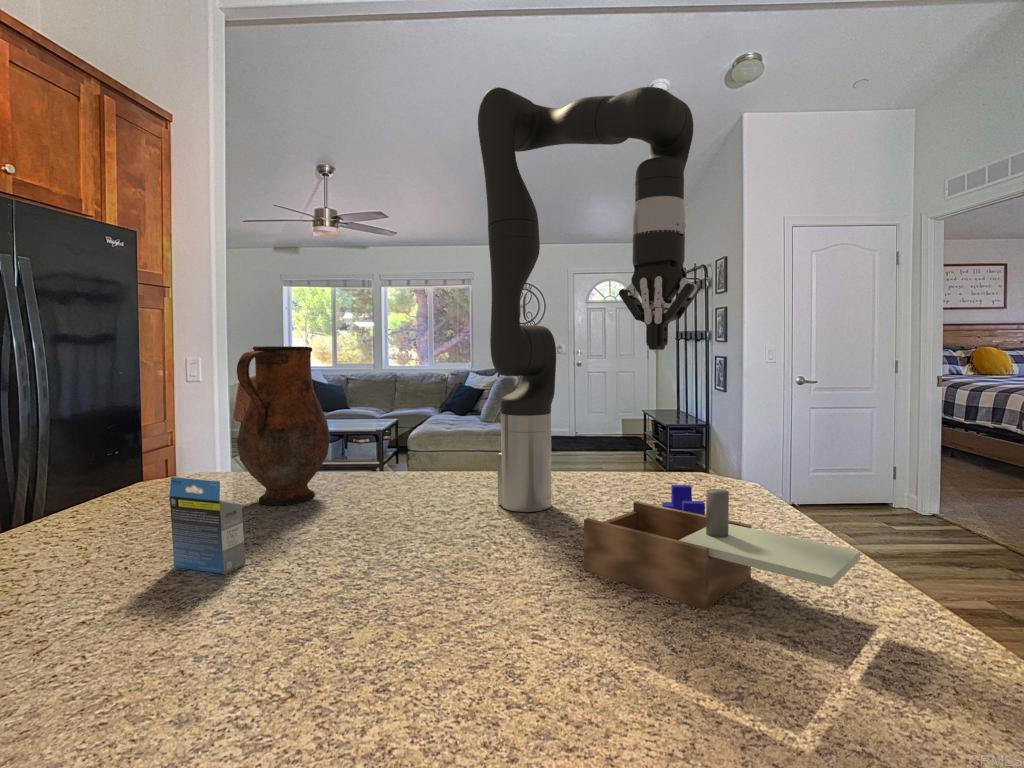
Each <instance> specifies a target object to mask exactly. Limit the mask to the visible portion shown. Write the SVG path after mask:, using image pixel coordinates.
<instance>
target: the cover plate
mask: <svg viewBox="0 0 1024 768" xmlns="http://www.w3.org/2000/svg"><path fill="white" fill-rule="evenodd" d="M729 499H730V491H729V490H727V489H726V490H725V489H722V488H707V489H706V502H705V515H706V527H705V528H703V529H701V530H699V531H697V532H695V533H692V534H690V535H688V536H686V537H684V538H682V539H680V540H679V541H683V542H687V543H691V544H695V545H699V546H704V547H708V548H709V556H711V557H715V558H718V559H722V560H726V561H730V562H734V563H738V564H742V565H746V566H750V567H751V568H754V569H758V570H762V571H764V572H770V573H773V574H778V575H781V576H785V577H789V578H792V579H793V578H794V579H797V580H801V581H805V582H808V583H813V584H815V585H816V584H817V585H820V586H823V587H824V586H825V587H828V588H833V587H834V586H835V585H836V584H837V583H838V582H839V581H840V580H841V579H842V577H844V576H845V575H846V574H847V573H848V572H850V570H851V569H852V568H854V566H856V565H857V563H859V562H860V560H861V550H855V549H851V548H846V547H842V546H838V545H837V546H836V545H833V544H828V543H825V542H824V543H823V542H819V541H812V540H809V539H804V538H799V537H794V536H789V535H784V534H779V533H775V532H771V531H766V530H760V529H757V528H752V527H751V528H747V527H742V526H737V525H733V524H729V520H730V519H729V518H730V516H729V515H730V513H729V512H730V511H729V510H730V509H729V508H730V503H729V502H730V500H729Z"/></svg>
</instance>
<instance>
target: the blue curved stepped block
mask: <svg viewBox="0 0 1024 768" xmlns="http://www.w3.org/2000/svg"><path fill="white" fill-rule="evenodd" d="M692 488H693V487H692V486H691V485H688V484H671V491H670V492H671V498H670V499H671V501H670V502H669V501H662V502H661V506H662V507H667V508H672V509H676V510H681V511H686V512H691V513H696V514H701V515H706V502H704V501H703V500H693V496H692V495H693V493H692Z"/></svg>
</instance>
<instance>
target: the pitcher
mask: <svg viewBox="0 0 1024 768" xmlns="http://www.w3.org/2000/svg"><path fill="white" fill-rule="evenodd" d="M312 352H313V348H312V347H311V346H287V345H286V346H283V345H282V346H281V345H280V346H273V345H271V346H270V345H269V346H263V345H262V346H258V345H257V346H255V345H254V346H252V351H246V352H244V353H243V354H242V355H241V356H240V358H239V359H238V362H237V364H236V375H237V380H238V382H239V385H240V386H241V387H242V389H243V390H244V391H245V393H246V394H247V395H248V396H249V398H250V401H249V404H248V407H247V409H246V412H245V414H244V415H243V418H242V421H241V424H240V425H239V426H240V427H239V431H238V436H237V440H236V444H237V451H238V457H239V460H240V462H241V464H242V465H243V466H244V468H245V469H246V471H247V472H248V473H249V474H250V476H251V477H253V478H254V479H255V481H257V482H258V483H259V484H260V485H262V487H264V488H265V492H264V494H262V495H261V496H260V497H259V498H258V503H260V504H261V505H263V504H265V505H264V506H268V505H280V506H288V505H287V504H290V505H294V504H293V503H296V504H299V502H300V503H303V501H304V502H306V500H307V501H309V500H311V499H313V498H314V497H315V496H316V493H315V491H314V490H313V489H310V488H309V487H308V484H309V482H310V481H311V480H312V479H313V478H314V476H315V475H316V474H317V473H318V471H319V470H320V469H321V467H322V465H323V464H324V462H325V460H326V458H327V457H328V453H329V448H330V441H331V434H330V428H329V424H328V420H327V418H326V416H325V413H324V411H323V408H322V406H321V404H320V403H321V402H320V401H319V399H318V396H317V394H316V392H315V389H314V384H313V376H312V363H311V358H312V357H311V356H312ZM253 359H254V361H255V362H254V363H255V364H254V365H255V377H254V384H253V383H252V380H251V377H250V366H251V362H252V361H253Z"/></svg>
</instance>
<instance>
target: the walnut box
mask: <svg viewBox="0 0 1024 768" xmlns="http://www.w3.org/2000/svg"><path fill="white" fill-rule="evenodd" d="M632 505H633V507H632V508H633V511H630V512H625V513H624V514H622V515H619V516H616V517H613V518H611V519H607V520H605V521H601V520H597V519H593V518H589V517H588V518H583V570H584V571H586V572H588V573H593V574H595V575H597V576H601V577H604V578H608V579H611V580H614V581H616V582H620V583H622V584H626V585H628V586H632V587H635V588H638V589H641V590H644V591H646V592H649V593H653V594H656V595H659V596H663V597H666V598H668V599H671V600H675V601H677V602H681V603H683V604H686V605H690V606H691V607H692V606H693V607H696V608H699V609H701V610H703V611H704V610H706V609H707V608H709V607H711V606H712V605H713V604H715V603H716V602H717V601H719V600H720V599H722V598H723V597H725V596H726V595H727V594H729V593H731V592H732V591H733V590H735V589H736V588H738V587H740V585H742V584H744V583H745V582H746V581H748V580H749V579H751V578H752V577H751V576H752V567H750V566H746V565H742V564H738V563H734V562H730V561H726V560H722V559H718V558H715V557H711V556H709V548H708V547H704V546H699V545H695V544H691V543H687V542H683V541H679V540H680V539H682V538H684V537H686V536H688V535H690V534H692V533H695V532H697V531H699V530H701V529H703V528H705V527H706V514H705V515H701V514H696V513H691V512H686V511H681V510H676V509H672V508H667V507H662V505H661V506H660V505H656V504H651V503H648V502H647V503H646V502H641V501H634V502H633V504H632ZM729 524H733V525H737V526H742V527H747V528H752V524H749V523H745V522H739V521H734V520H730V519H729Z"/></svg>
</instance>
